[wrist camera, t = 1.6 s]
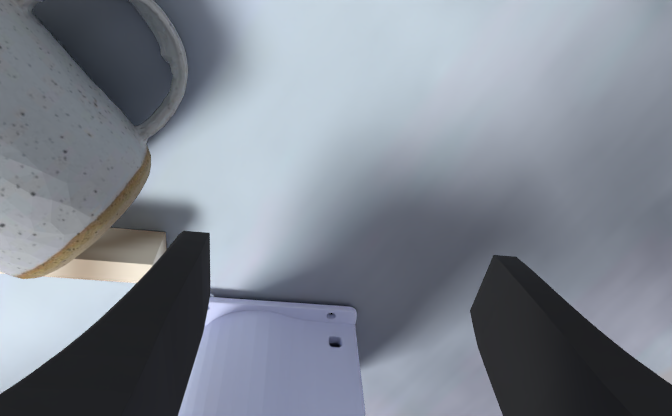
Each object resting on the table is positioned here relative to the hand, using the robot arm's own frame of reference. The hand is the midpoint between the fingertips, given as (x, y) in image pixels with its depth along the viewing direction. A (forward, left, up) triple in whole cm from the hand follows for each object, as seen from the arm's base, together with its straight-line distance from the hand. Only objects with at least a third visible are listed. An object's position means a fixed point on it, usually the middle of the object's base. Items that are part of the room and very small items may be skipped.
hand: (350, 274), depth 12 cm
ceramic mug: (+11, 0, -11) cm, 15 cm away
